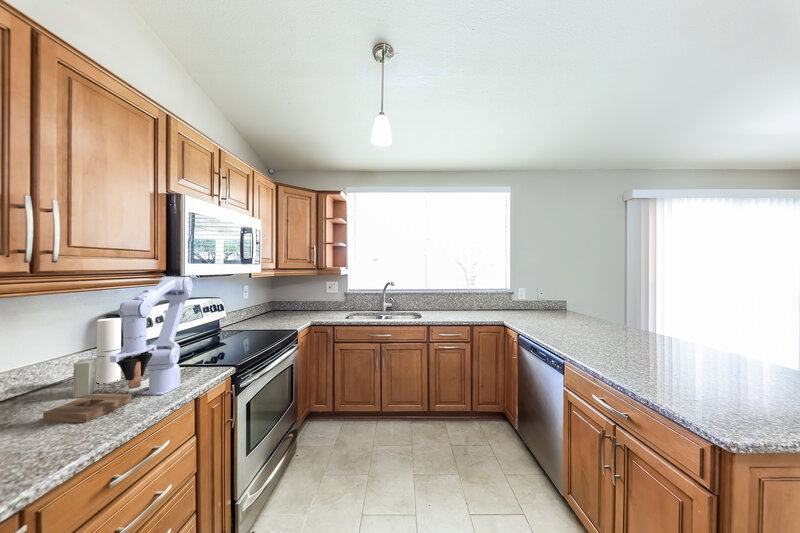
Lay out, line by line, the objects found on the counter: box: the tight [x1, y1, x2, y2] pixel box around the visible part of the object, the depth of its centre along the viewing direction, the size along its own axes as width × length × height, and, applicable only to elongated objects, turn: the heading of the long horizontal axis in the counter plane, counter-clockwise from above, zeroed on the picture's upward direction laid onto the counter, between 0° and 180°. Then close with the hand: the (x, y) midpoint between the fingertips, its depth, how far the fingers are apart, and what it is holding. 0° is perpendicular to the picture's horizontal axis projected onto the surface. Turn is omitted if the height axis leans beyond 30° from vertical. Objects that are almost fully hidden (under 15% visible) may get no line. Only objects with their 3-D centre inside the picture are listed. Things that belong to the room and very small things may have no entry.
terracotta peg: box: [128, 361, 142, 390], centre depth 100 cm, size 3×3×8 cm
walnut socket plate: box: [42, 393, 132, 423], centre depth 98 cm, size 14×14×2 cm
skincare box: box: [72, 357, 97, 399], centre depth 111 cm, size 6×4×12 cm
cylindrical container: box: [96, 317, 122, 385], centre depth 125 cm, size 7×7×25 cm
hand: (134, 378), depth 100 cm, fingers closed on terracotta peg, 3 cm apart
